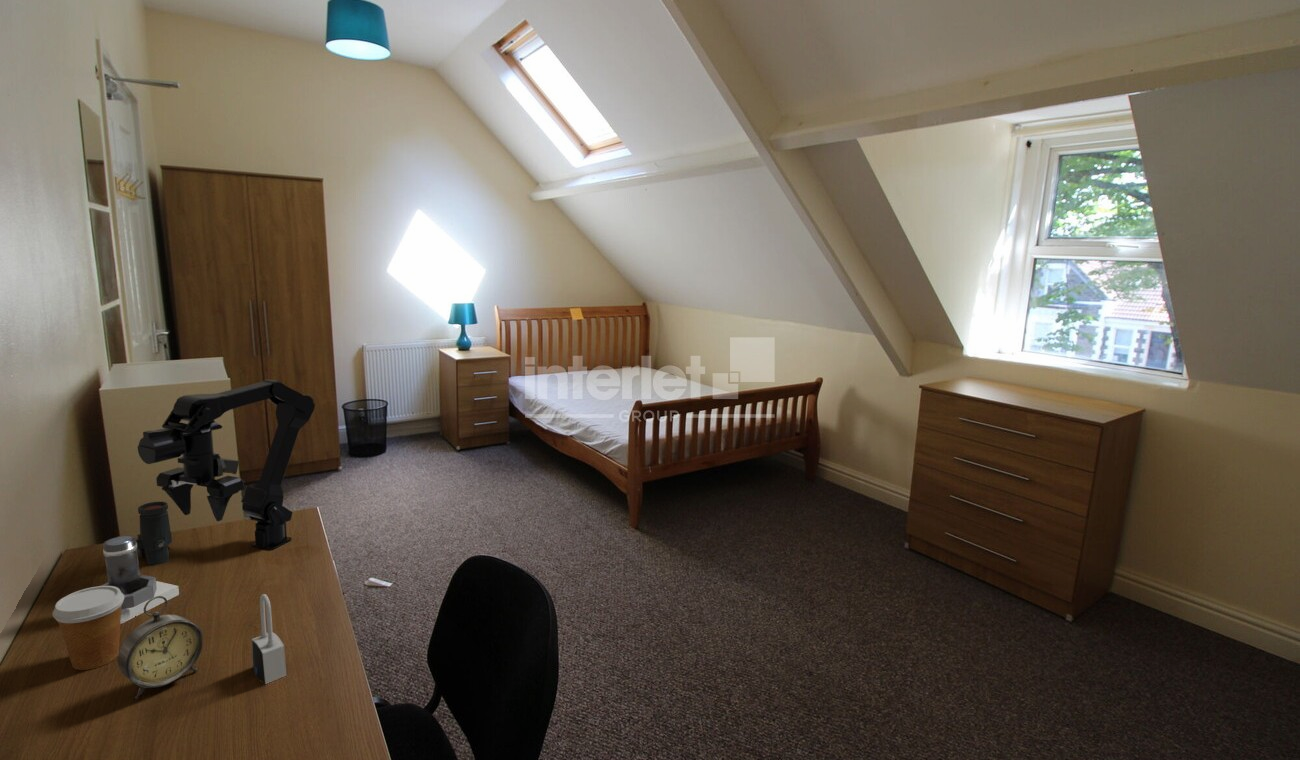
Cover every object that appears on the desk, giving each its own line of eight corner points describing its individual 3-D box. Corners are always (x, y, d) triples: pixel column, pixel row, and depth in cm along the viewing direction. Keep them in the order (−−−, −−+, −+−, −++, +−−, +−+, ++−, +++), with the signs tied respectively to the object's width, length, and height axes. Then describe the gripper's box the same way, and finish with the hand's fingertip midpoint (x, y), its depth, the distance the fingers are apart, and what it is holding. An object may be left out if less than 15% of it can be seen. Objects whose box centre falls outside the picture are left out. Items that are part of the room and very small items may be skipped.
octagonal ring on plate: (143, 586, 136) (141, 567, 135) (179, 594, 134) (177, 575, 133) (70, 620, 123) (67, 599, 122) (108, 630, 121) (106, 608, 120)
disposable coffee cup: (81, 682, 106) (73, 618, 104) (47, 667, 109) (38, 604, 107) (142, 651, 115) (136, 591, 113) (109, 638, 118) (102, 579, 116)
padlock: (249, 668, 112) (244, 592, 109) (275, 658, 115) (271, 583, 112) (262, 686, 108) (257, 607, 105) (289, 675, 111) (284, 598, 108)
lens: (142, 588, 132) (136, 532, 129) (143, 599, 128) (135, 542, 125) (110, 595, 129) (102, 538, 126) (109, 607, 125) (101, 548, 122)
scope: (166, 494, 152) (180, 505, 146) (171, 547, 154) (185, 560, 148) (123, 503, 145) (136, 515, 139) (129, 558, 148) (142, 572, 142)
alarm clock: (131, 707, 101) (121, 616, 98) (117, 694, 104) (107, 605, 101) (207, 672, 110) (200, 588, 107) (193, 661, 113) (185, 578, 110)
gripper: (262, 447, 145) (266, 510, 147) (199, 437, 149) (203, 499, 152) (218, 461, 134) (223, 529, 137) (151, 450, 138) (157, 516, 141)
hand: (203, 517), depth 142 cm, fingers open, 9 cm apart
